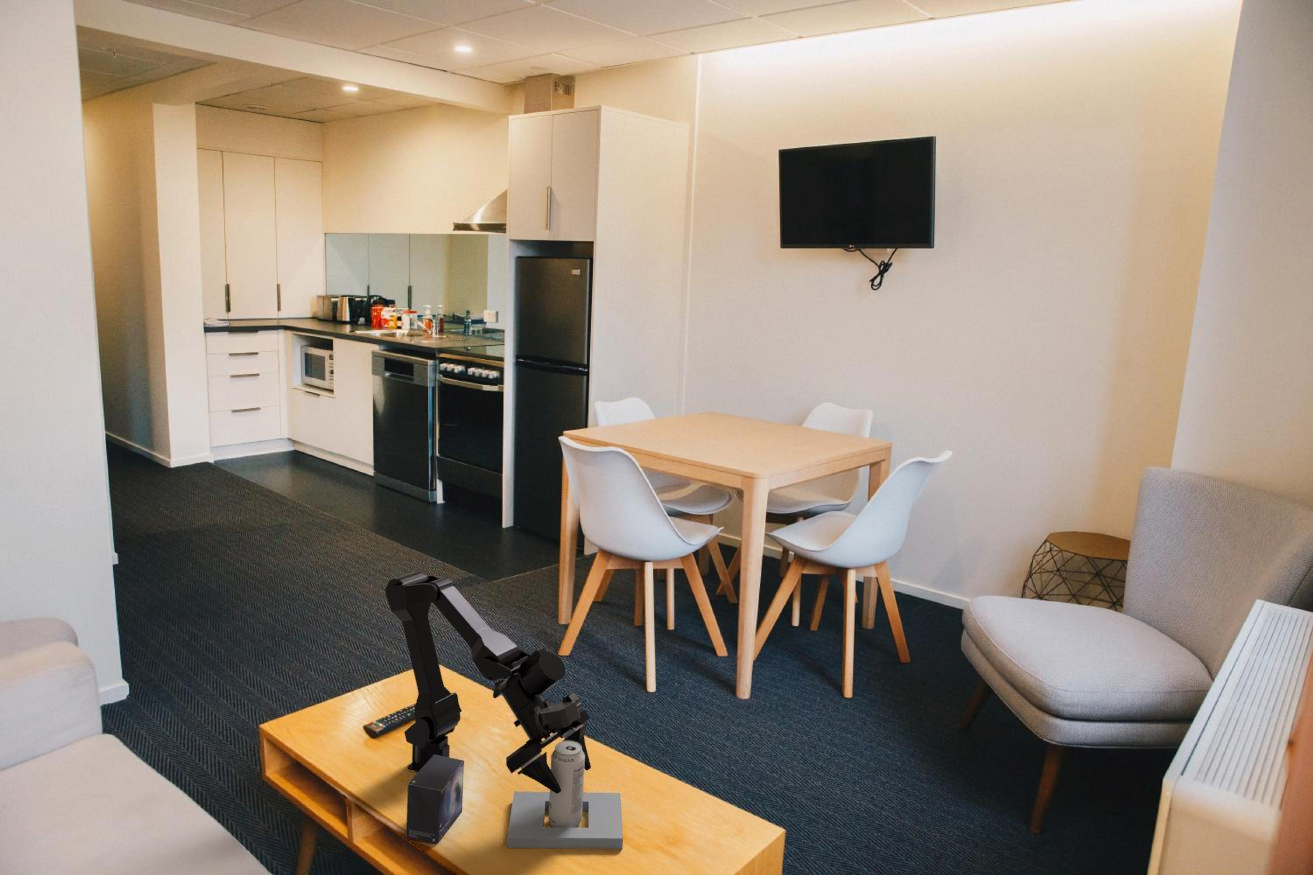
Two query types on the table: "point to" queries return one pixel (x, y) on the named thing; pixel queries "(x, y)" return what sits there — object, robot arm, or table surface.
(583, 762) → the energy drink can
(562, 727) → the robot arm
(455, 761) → the small box
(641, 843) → the table surface
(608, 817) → the hole board
